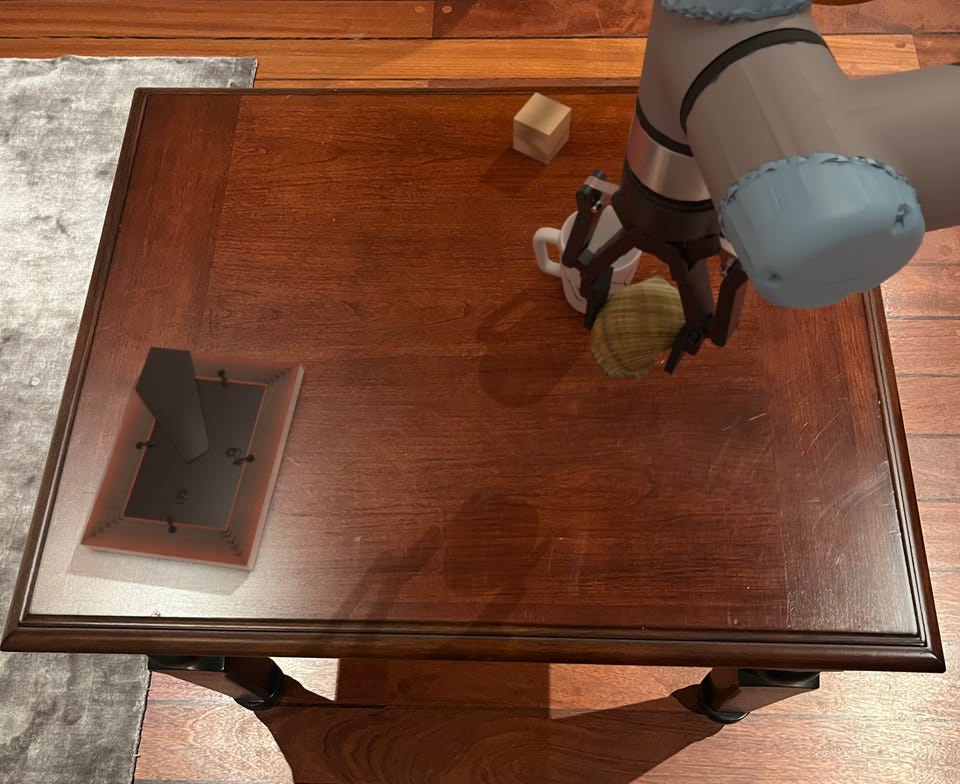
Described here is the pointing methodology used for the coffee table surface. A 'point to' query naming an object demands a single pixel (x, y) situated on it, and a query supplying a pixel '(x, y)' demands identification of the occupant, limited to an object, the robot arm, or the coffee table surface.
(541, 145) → the maple block
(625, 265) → the mug
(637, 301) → the seashell
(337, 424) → the coffee table surface
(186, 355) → the picture frame
